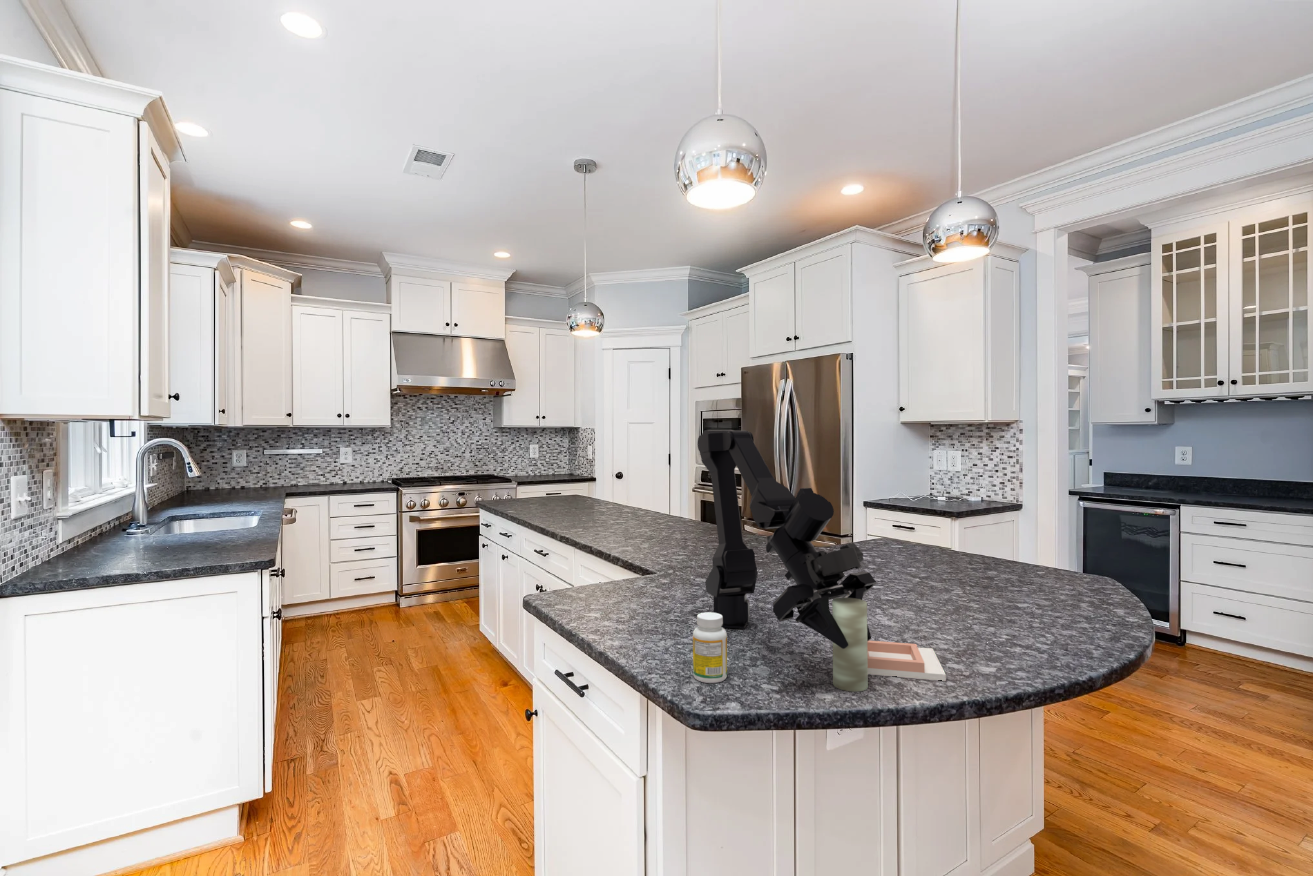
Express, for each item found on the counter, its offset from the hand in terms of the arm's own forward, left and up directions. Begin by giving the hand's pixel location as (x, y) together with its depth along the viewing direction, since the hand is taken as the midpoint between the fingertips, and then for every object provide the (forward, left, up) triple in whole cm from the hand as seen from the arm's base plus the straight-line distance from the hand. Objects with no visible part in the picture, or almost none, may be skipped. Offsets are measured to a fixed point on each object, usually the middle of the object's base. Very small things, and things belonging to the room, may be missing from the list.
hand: (857, 643), depth 92 cm
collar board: (+7, +12, -7) cm, 15 cm away
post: (-1, +1, -7) cm, 7 cm away
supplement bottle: (-22, -1, -7) cm, 23 cm away
